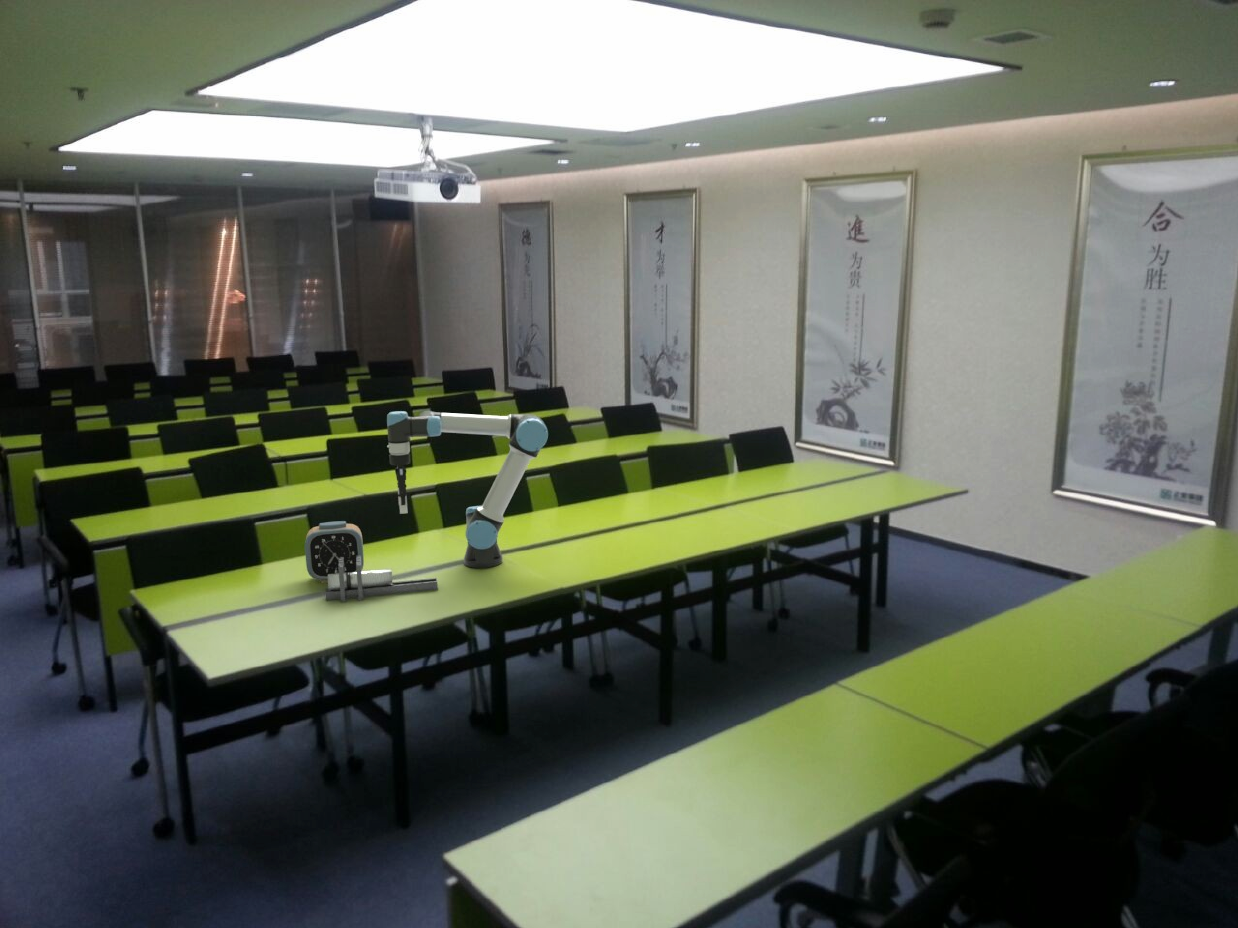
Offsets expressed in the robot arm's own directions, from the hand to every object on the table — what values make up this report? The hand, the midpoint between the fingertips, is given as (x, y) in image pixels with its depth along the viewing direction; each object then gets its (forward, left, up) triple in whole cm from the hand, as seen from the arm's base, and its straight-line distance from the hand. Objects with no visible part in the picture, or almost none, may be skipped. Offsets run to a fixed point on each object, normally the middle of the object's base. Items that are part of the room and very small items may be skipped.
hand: (403, 509), depth 350 cm
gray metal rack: (+9, +16, -27) cm, 33 cm away
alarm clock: (+26, -7, -27) cm, 38 cm away
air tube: (+17, +16, -24) cm, 33 cm away
